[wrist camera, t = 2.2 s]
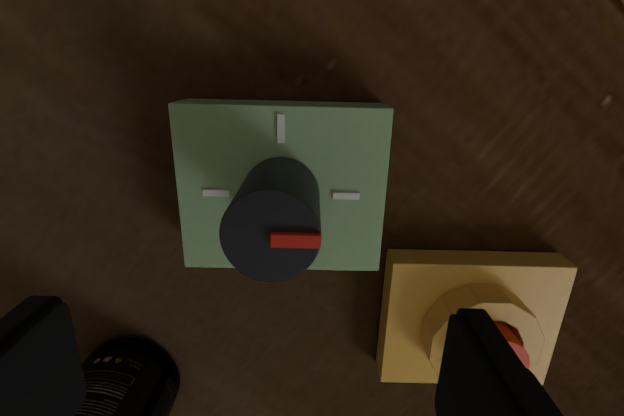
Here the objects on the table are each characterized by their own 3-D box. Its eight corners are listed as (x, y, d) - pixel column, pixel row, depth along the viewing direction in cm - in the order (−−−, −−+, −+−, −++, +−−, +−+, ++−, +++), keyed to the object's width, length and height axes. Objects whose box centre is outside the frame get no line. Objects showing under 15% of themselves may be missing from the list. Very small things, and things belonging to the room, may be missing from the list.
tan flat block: (375, 360, 28) (385, 407, 24) (386, 248, 24) (400, 281, 21) (527, 364, 28) (561, 410, 24) (558, 252, 25) (602, 285, 21)
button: (449, 369, 23) (459, 392, 22) (458, 319, 22) (469, 340, 20) (507, 370, 23) (522, 393, 22) (520, 321, 22) (536, 341, 20)
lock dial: (244, 228, 21) (220, 285, 15) (241, 155, 19) (213, 190, 14) (318, 229, 21) (319, 287, 15) (320, 157, 19) (323, 192, 14)
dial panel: (199, 244, 24) (183, 268, 21) (186, 98, 21) (166, 103, 18) (371, 248, 24) (379, 273, 22) (383, 102, 21) (394, 108, 18)
